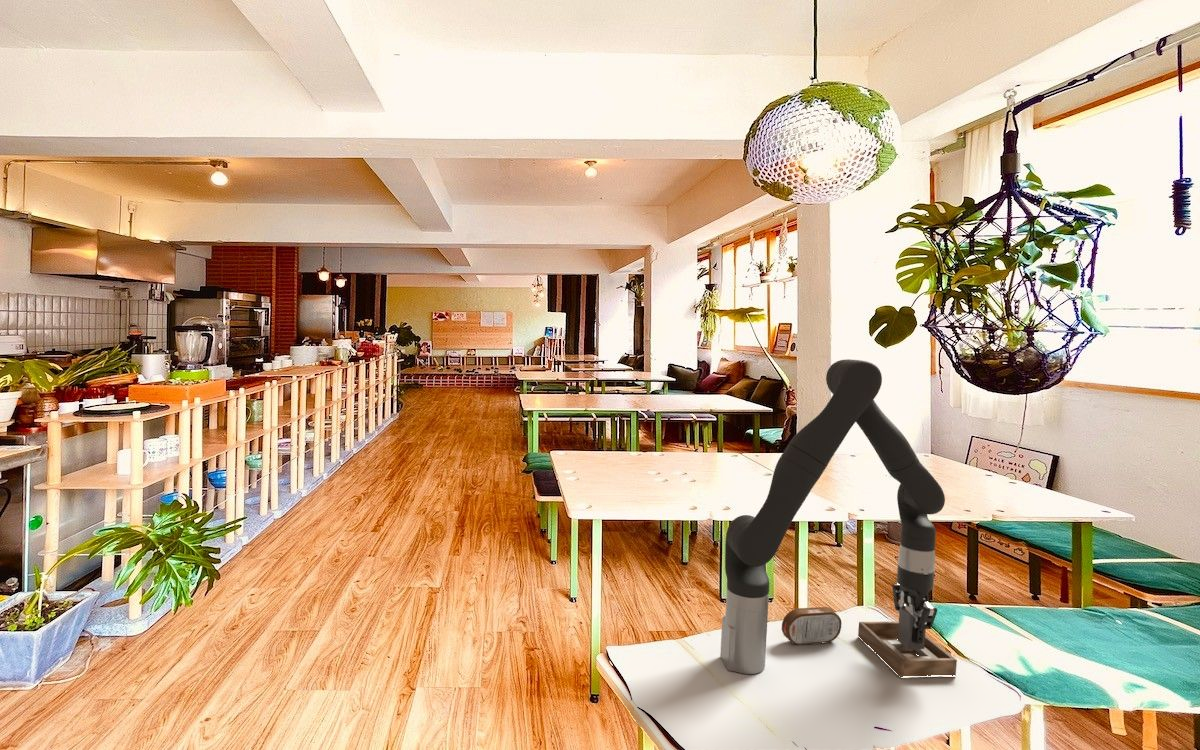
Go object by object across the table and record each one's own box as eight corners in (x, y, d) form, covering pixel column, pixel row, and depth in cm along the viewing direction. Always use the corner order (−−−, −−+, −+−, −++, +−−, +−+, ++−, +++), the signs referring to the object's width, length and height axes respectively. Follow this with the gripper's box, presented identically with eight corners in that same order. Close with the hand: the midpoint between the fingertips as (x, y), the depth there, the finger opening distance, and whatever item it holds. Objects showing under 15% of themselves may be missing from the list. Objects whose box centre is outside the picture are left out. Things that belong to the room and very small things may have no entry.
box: (900, 678, 134) (901, 660, 133) (857, 637, 152) (859, 621, 151) (955, 677, 135) (956, 660, 135) (907, 636, 153) (908, 621, 152)
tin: (835, 637, 151) (837, 604, 151) (842, 643, 148) (844, 610, 148) (779, 641, 148) (781, 608, 148) (786, 648, 145) (788, 614, 145)
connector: (907, 649, 139) (910, 611, 138) (897, 640, 143) (900, 603, 142) (924, 649, 139) (926, 610, 139) (913, 640, 143) (916, 603, 143)
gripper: (883, 554, 146) (878, 623, 148) (919, 578, 132) (914, 654, 133) (912, 554, 147) (908, 622, 148) (952, 577, 133) (946, 653, 134)
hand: (911, 637), depth 141 cm, fingers closed on connector, 4 cm apart
